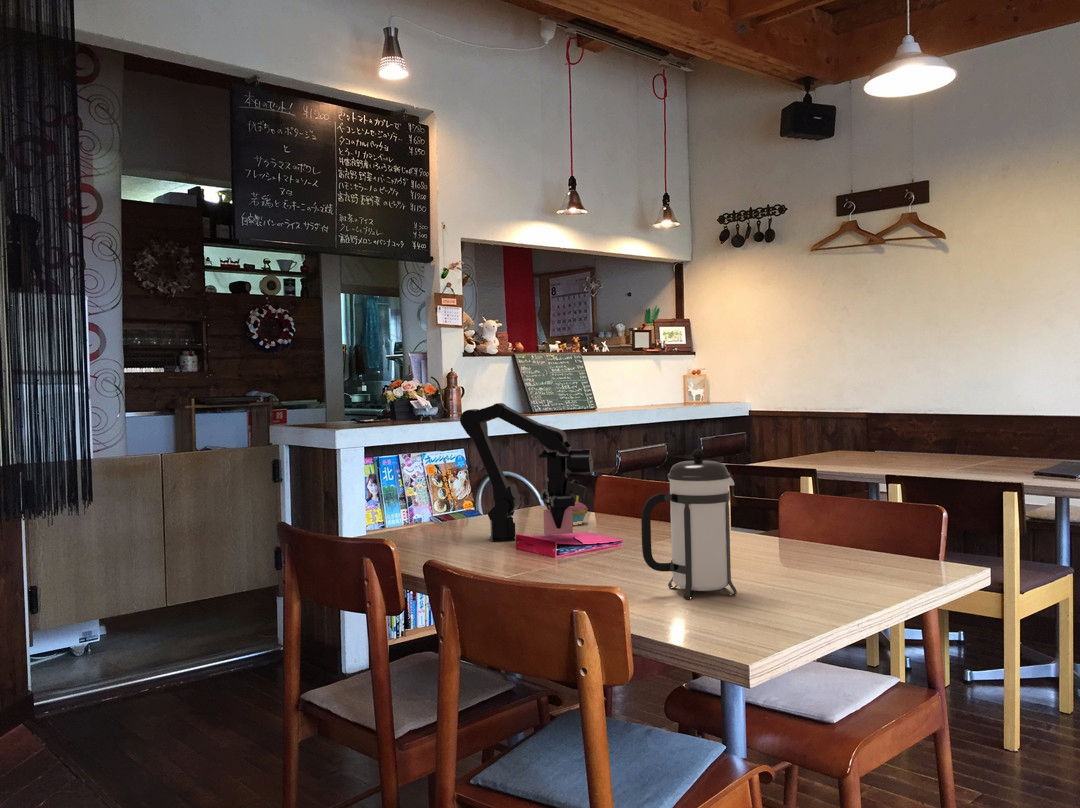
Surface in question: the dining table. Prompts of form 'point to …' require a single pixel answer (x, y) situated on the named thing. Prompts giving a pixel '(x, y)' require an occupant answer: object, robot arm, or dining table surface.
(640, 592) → the dining table surface
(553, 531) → the pink rectangular block
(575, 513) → the cupcake
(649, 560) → the coffee press
